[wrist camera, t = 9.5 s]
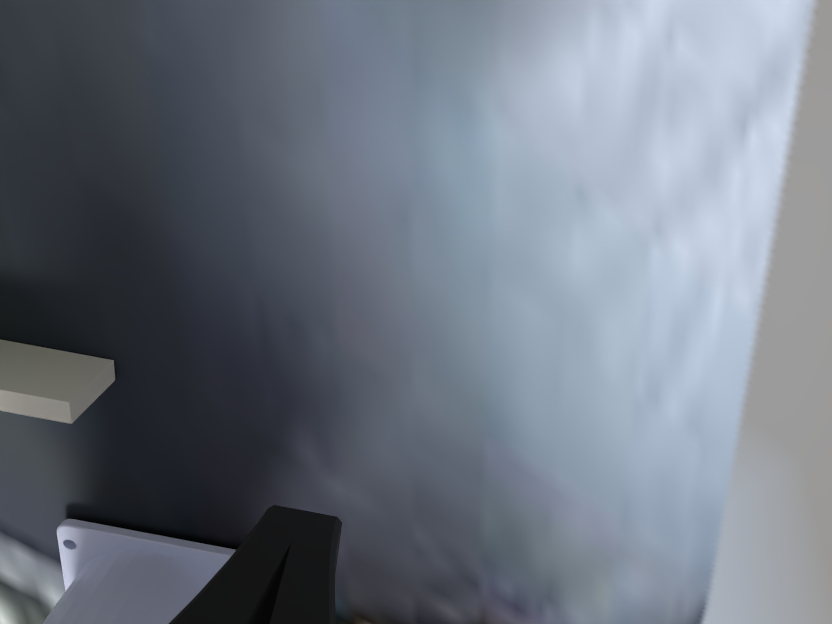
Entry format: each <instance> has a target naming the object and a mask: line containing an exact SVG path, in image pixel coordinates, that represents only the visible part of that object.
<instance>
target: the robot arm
mask: <svg viewBox="0 0 832 624" xmlns="http://www.w3.org/2000/svg"><path fill="white" fill-rule="evenodd" d="M341 527H342V522H341V521H340V520H339V518H338V517H335V516H330V515H325V514H319V513H314V512H308V511H303V510H298V509H292V508H287V507H282V506H276V505H274V506H272V507H270V508H268V509H267V511H266V512H265V514H264V515H263V517H262V518H261V519H260V521H259V522H258V523H257V525H256V526H255V527H254V529H253V530H252V531H251V533H250V534H249V535H248V536H247V538H246V539H245V540H244V541H243V543H242V544H241V545H240V546H239V548H238V549H237V550H235V549H230V548H224V547H219V546H214V545H208V544H203V543H198V542H192V541H187V540H182V539H177V538H171V537H166V536H161V535H155V534H150V533H145V532H139V531H134V530H129V529H123V528H118V527H113V526H108V525H102V524H97V523H92V522H86V521H81V520H76V519H66V520H64V521H63V522H62V523H61V524H60V526H59V527H58V528H57V537H58V544H59V551H60V558H61V564H62V571H63V578H64V585H65V591H66V592H65V593H64V594H63V596H62V597H61V599H60V600H59V601H58V603H57V604H56V606H55V607H54V608H53V610H52V611H51V612H50V614H49V615H48V617H47V618H46V619H45V621H44V622H43V624H336V612H335V572H336V564H337V557H338V549H339V542H340V534H341Z"/></svg>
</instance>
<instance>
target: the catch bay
mask: <svg viewBox="0 0 832 624" xmlns="http://www.w3.org/2000/svg"><path fill="white" fill-rule="evenodd" d="M114 381H115V370H114V360H110V359H104V358H99V357H93V356H88V355H82V354H77V353H72V352H66V351H61V350H55V349H50V348H44V347H39V346H33V345H28V344H22V343H17V342H12V341H6V340H1V339H0V411H5V412H10V413H16V414H21V415H26V416H32V417H37V418H43V419H48V420H53V421H59V422H64V423H70V424H72V423H73V422H74V421H75V420H76V419H77V418H78V417H79V416H80V415H81V414H82V413H83V412H84V411H85V410H86V409H87V408H88V407H89V406H90V405H91V404H92V403H93V402H94V401H95V400H96V399H97V398H98V397H99V396H100V395H101V394H102V393H103V392H104V391H105V390H106V389H107V388H108V387H109V386H110V385H111V384H112V383H113V382H114Z"/></svg>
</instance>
